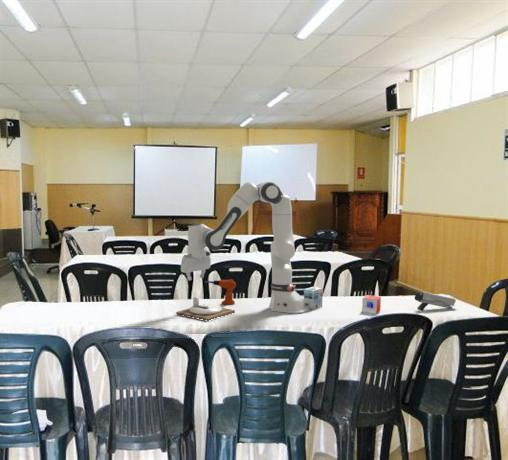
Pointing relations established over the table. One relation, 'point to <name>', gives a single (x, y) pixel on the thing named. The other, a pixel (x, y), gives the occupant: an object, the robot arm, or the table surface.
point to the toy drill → (226, 290)
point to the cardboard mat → (206, 317)
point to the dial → (204, 308)
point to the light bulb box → (313, 297)
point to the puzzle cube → (371, 304)
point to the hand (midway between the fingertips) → (195, 279)
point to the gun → (433, 300)
